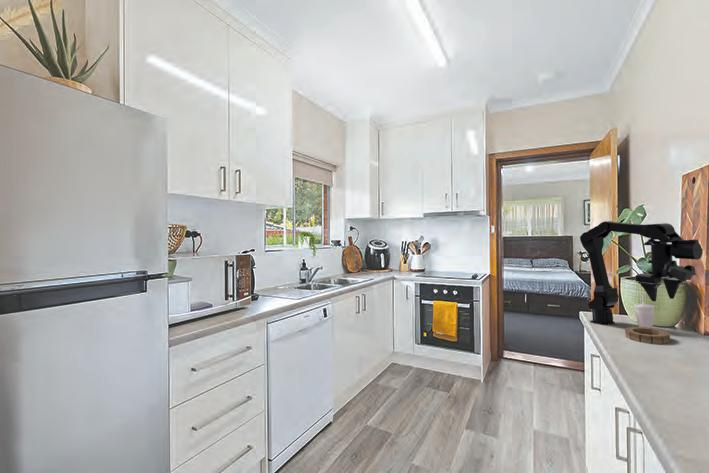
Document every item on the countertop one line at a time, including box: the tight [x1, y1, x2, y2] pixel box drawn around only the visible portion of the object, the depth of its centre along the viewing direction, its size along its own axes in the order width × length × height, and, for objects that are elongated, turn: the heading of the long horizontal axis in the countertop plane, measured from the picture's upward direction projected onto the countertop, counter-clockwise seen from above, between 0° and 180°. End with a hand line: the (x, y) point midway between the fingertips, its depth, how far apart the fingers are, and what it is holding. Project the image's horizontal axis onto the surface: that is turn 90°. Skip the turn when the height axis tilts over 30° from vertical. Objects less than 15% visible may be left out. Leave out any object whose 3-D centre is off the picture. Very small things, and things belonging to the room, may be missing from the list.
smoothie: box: [633, 294, 656, 328], centre depth 130 cm, size 6×6×14 cm
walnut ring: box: [624, 326, 671, 345], centre depth 121 cm, size 12×12×2 cm
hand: (662, 299), depth 122 cm, fingers open, 9 cm apart
